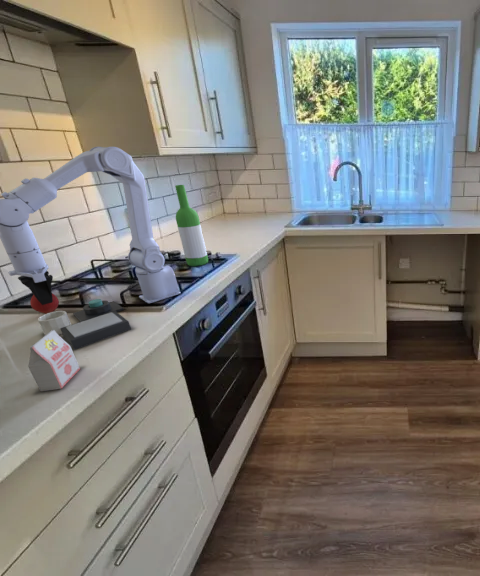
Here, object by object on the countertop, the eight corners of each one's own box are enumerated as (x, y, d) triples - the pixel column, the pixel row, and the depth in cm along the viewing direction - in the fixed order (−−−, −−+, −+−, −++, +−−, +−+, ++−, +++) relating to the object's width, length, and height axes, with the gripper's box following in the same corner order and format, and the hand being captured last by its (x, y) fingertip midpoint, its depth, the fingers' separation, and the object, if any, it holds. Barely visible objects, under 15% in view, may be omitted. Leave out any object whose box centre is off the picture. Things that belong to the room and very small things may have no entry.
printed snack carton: (40, 391, 72) (19, 348, 68) (60, 371, 78) (42, 331, 74) (61, 388, 72) (41, 346, 68) (80, 368, 78) (63, 328, 75)
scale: (118, 318, 100) (114, 309, 99) (131, 329, 94) (128, 320, 93) (63, 336, 91) (59, 327, 90) (74, 349, 86) (70, 339, 85)
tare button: (101, 302, 105) (99, 298, 104) (104, 305, 103) (102, 300, 103) (88, 306, 103) (86, 301, 102) (91, 309, 101) (90, 304, 100)
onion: (60, 307, 108) (49, 282, 104) (65, 312, 104) (54, 287, 101) (34, 314, 103) (22, 289, 100) (38, 320, 100) (26, 294, 97)
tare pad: (114, 303, 110) (111, 295, 109) (123, 310, 105) (121, 302, 104) (73, 315, 103) (70, 307, 102) (82, 323, 98) (78, 315, 97)
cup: (69, 323, 98) (62, 308, 96) (74, 329, 95) (68, 314, 93) (42, 332, 94) (35, 316, 92) (47, 338, 91) (40, 323, 89)
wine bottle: (188, 262, 144) (169, 184, 132) (209, 259, 146) (192, 183, 135) (186, 268, 137) (165, 187, 125) (208, 265, 140) (190, 185, 128)
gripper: (-5, 249, 87) (19, 300, 92) (5, 260, 79) (31, 315, 84) (33, 242, 92) (54, 291, 97) (47, 252, 84) (68, 305, 89)
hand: (46, 302), depth 91 cm, fingers closed
